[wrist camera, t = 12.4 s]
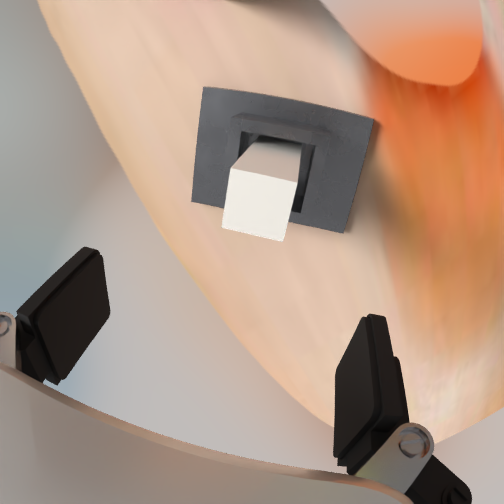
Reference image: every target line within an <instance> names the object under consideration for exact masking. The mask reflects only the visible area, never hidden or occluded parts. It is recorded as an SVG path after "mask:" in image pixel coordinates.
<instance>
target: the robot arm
mask: <svg viewBox="0 0 504 504" xmlns="http://www.w3.org/2000/svg"><path fill="white" fill-rule="evenodd" d="M17 314H18V315H17V316H16V317H15V318H14V316H13V315H12V314H10V313H7V312H0V504H471V502H472V495H471V492H470V489H469V488H468V486H467V485H466V484H465V483H464V482H463V481H462V480H460V479H459V478H458V477H457V476H456V475H455V474H454V473H453V472H451V471H450V470H449V469H448V468H447V467H446V466H445V465H444V464H442V463H441V462H440V461H439V460H438V459H437V458H436V457H435V456H434V455H432V453H433V451H434V441H433V438H432V436H431V434H430V432H429V431H428V430H427V429H426V428H425V427H423V426H421V425H420V424H416V423H409V415H408V408H407V401H406V395H405V389H404V383H403V377H402V372H401V366H400V362H399V359H398V358H397V357H394V356H393V351H392V345H391V340H390V335H389V330H388V325H387V321H386V317H384V316H380V315H375V314H368V315H367V317H362V318H361V320H360V322H359V324H358V326H357V329H356V331H355V333H354V335H353V337H352V339H351V341H350V343H349V345H348V347H347V349H346V351H345V353H344V355H343V357H342V359H341V361H340V363H339V365H338V367H337V369H336V374H335V421H334V447H333V456H334V457H335V458H338V463H337V464H338V465H337V466H346V467H347V473H348V474H349V475H347V474H340V473H333V472H327V471H320V470H312V469H305V468H298V467H292V466H286V465H280V464H275V463H269V462H264V461H258V460H254V459H249V458H244V457H240V456H235V455H231V454H227V453H223V452H219V451H215V450H211V449H207V448H204V447H200V446H196V445H193V444H190V443H186V442H182V441H180V440H176V439H173V438H170V437H167V436H164V435H161V434H158V433H155V432H152V431H149V430H146V429H144V428H141V427H138V426H136V425H133V424H130V423H128V422H125V421H123V420H120V419H118V418H115V417H113V416H110V415H108V414H105V413H103V412H101V411H98V410H96V409H94V408H91V407H89V406H87V405H85V404H83V403H81V402H79V401H76V400H74V399H72V398H70V397H68V396H66V395H64V394H62V393H60V392H58V391H56V390H54V389H52V388H50V387H48V386H46V385H44V384H43V381H44V380H45V378H46V380H48V381H49V382H51V383H53V384H55V385H58V384H59V382H60V381H61V379H62V380H63V379H65V378H66V377H67V376H68V374H69V373H70V371H71V370H72V368H73V367H74V366H75V364H76V362H77V361H78V360H79V358H80V357H81V356H82V354H83V353H84V351H85V350H86V348H87V347H88V345H89V344H90V343H91V341H92V340H93V339H94V337H95V336H96V335H97V333H98V332H99V330H100V329H101V327H102V326H103V325H104V324H105V322H106V320H107V319H108V318H109V315H110V306H109V299H108V292H107V285H106V278H105V271H104V263H103V257H102V255H100V252H99V251H98V250H95V249H92V248H88V247H83V248H82V249H81V250H80V251H78V252H77V253H76V254H75V255H74V256H73V257H72V258H70V259H69V260H68V261H67V262H66V263H65V264H64V265H63V266H62V267H61V268H60V269H59V270H57V272H55V273H54V274H53V275H52V276H51V277H50V278H49V279H48V280H47V281H46V282H45V283H44V284H43V285H42V286H41V287H40V288H39V289H38V290H37V291H36V292H35V293H34V294H33V295H32V296H31V297H30V298H29V299H28V300H27V301H26V302H25V303H24V304H23V305H22V306H21V307H20V308H19V309H18V310H17Z"/></svg>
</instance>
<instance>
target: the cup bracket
mask: <svg viewBox="0 0 504 504" xmlns="http://www.w3.org/2000/svg"><path fill="white" fill-rule="evenodd" d="M373 121H374V119H372V118H369V117H366V116H362V115H359V114H355V113H351V112H347V111H343V110H339V109H335V108H331V107H327V106H322V105H318V104H313V103H309V102H304V101H299V100H294V99H289V98H283V97H278V96H272V95H266V94H260V93H254V92H247V91H240V90H232V89H224V88H215V87H203V93H202V101H201V109H200V118H199V127H198V136H197V145H196V155H195V166H194V177H193V189H192V201H191V202H196V203H201V204H206V205H211V206H216V207H220V208H224V207H225V200H226V194H227V187H228V181H229V174H230V168H231V167H232V166H233V165H234V164H235V162H236V161H237V160H238V159H239V158H240V157H241V156H242V155H243V154H244V152H245V151H246V150H247V149H248V148H249V147H250V146H251V145H252V144H253V143H254V141H255V140H256V139H257V138H258V137H259V136H263V137H268V138H273V139H277V140H282V141H286V142H291V143H295V144H299V145H302V148H301V157H300V166H299V175H298V183H297V187H296V191H295V195H294V200H293V204H292V208H291V212H290V216H289V220H288V222H292V223H297V224H302V225H306V226H312V227H316V228H321V229H325V230H330V231H334V232H338V233H343V232H344V229H345V226H346V223H347V219H348V216H349V212H350V209H351V206H352V202H353V199H354V195H355V192H356V188H357V184H358V181H359V177H360V173H361V170H362V166H363V162H364V158H365V154H366V150H367V146H368V142H369V138H370V134H371V130H372V126H373Z"/></svg>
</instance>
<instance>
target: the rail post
mask: <svg viewBox="0 0 504 504" xmlns="http://www.w3.org/2000/svg"><path fill="white" fill-rule="evenodd" d="M301 148H302V145H299V144H295V143H291V142H286V141H282V140H277V139H273V138H268V137H263V136H259V137H258V138H257V139H256V140H255V141H254V143H253V144H252V145H251V146H250V147H249V148H248V149H247V150H246V151H245V152H244V154H243V155H242V156H241V157H240V158H239V159H238V160H237V161H236V162H235V164H234V165H233V166H232V167H231V168H230V174H229V181H228V187H227V194H226V200H225V207H224V214H223V221H222V227H221V228H225V229H230V230H234V231H238V232H243V233H247V234H251V235H255V236H260V237H264V238H268V239H272V240H277V241H281V242H283V240H284V236H285V232H286V228H287V224H288V220H289V216H290V212H291V208H292V204H293V200H294V195H295V191H296V187H297V183H298V175H299V166H300V157H301Z"/></svg>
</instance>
